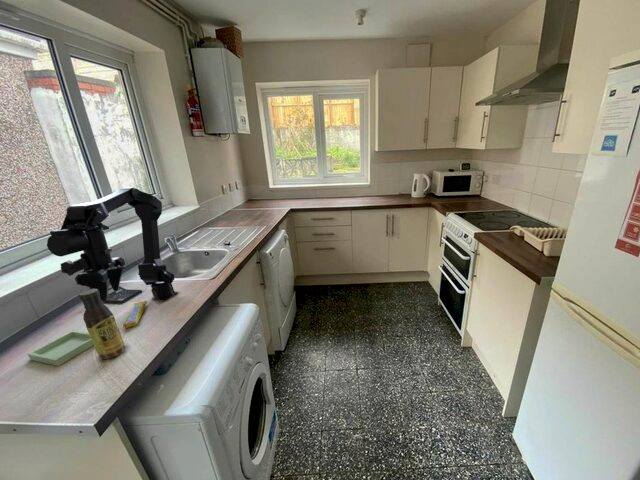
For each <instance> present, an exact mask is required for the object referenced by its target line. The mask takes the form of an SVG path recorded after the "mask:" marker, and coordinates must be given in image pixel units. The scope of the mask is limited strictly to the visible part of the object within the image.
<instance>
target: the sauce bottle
mask: <svg viewBox="0 0 640 480" xmlns="http://www.w3.org/2000/svg"><path fill="white" fill-rule="evenodd" d="M78 297H79V300H81V302H82V304H83V308H84V309H85V310H84V313H83V317H82V319H83V322H84V323H85V328H86V331H87V333H89V335H90V337H91V339H92V342H93V344H94V345H93V346H94V349H95V351H96V354H97V355H98V357H99V359H101V360H109V359H113V358H115V357H117V356H119V355H121V354H122V353H123V352H124V351H125V349H126V346H125V341H124V339H123V336H122V334H121V331H120V328H119V326H118V323H117V321H116V318H115V315H114V313H113V312H112V311H111V310H110V308H109V307H108V306H106V305H105V304H104V301H102V300H101V298H100V293H99V291H98V289H91V288H89V289H85V290H83V291H80V292H79V293H78Z"/></svg>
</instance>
